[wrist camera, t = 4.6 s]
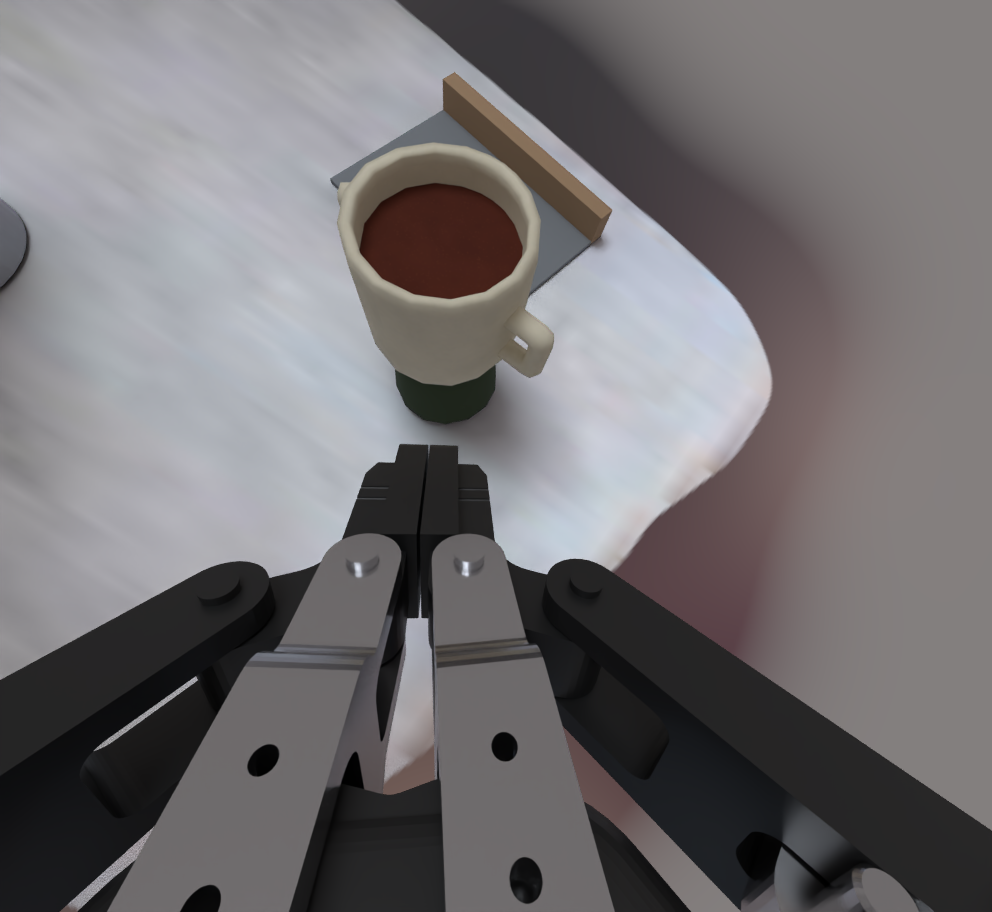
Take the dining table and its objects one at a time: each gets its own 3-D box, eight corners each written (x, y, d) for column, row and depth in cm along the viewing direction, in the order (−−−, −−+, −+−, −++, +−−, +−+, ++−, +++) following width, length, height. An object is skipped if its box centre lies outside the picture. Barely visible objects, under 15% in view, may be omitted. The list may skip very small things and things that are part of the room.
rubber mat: (485, 330, 28) (488, 309, 25) (331, 182, 29) (321, 150, 27) (600, 236, 31) (612, 209, 28) (454, 107, 32) (454, 72, 30)
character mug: (545, 393, 27) (625, 247, 14) (478, 475, 25) (504, 387, 13) (418, 297, 28) (391, 80, 15) (344, 369, 26) (245, 189, 13)
